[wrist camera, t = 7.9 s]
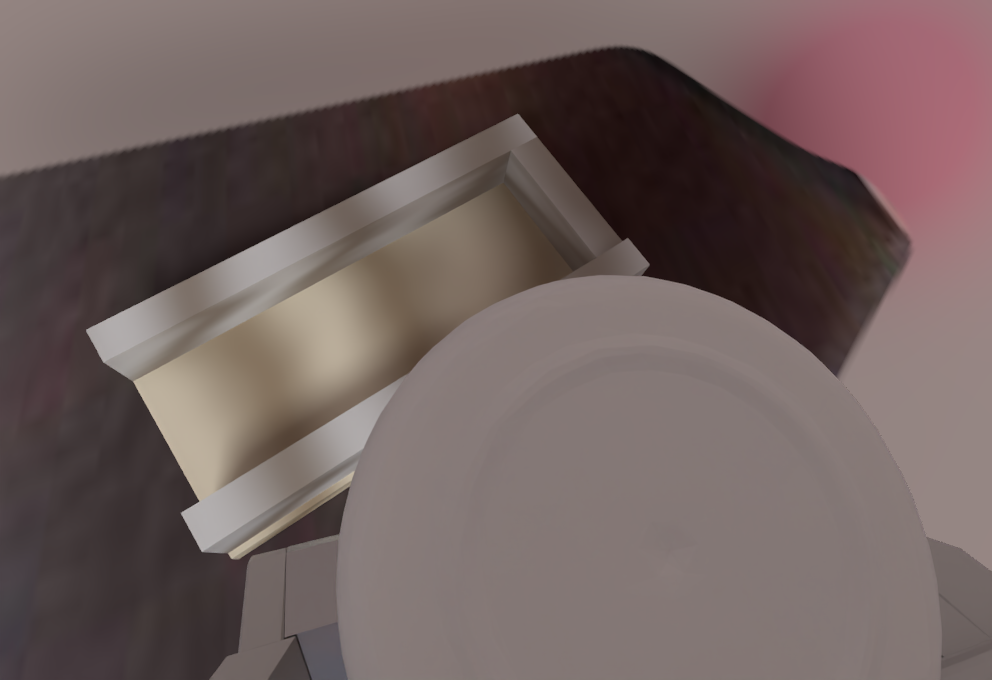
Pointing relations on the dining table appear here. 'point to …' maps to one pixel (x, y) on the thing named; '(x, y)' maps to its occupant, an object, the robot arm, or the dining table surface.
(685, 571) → the sprinkles bottle
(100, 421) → the dining table surface
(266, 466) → the track
